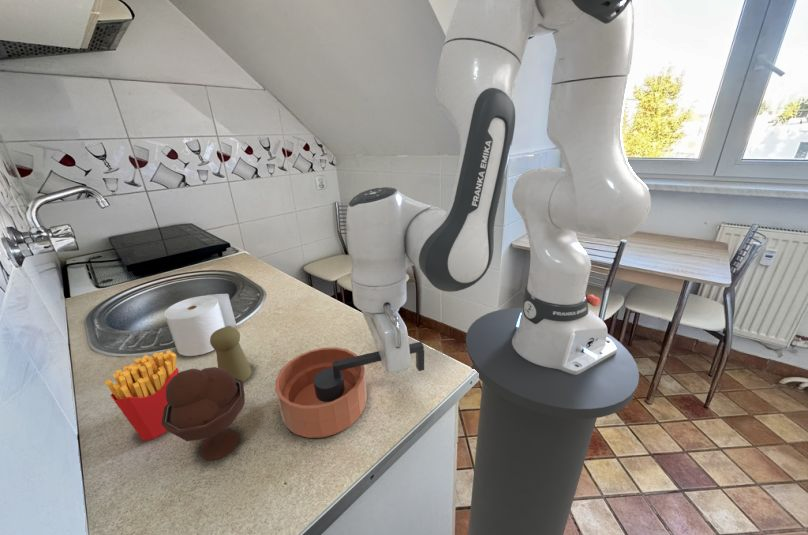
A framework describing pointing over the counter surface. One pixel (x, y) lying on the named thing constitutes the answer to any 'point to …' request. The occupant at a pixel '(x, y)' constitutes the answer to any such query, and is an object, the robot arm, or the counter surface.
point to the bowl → (300, 398)
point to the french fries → (144, 392)
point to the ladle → (331, 379)
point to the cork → (230, 352)
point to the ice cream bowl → (204, 409)
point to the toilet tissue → (198, 322)
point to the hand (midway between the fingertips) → (384, 359)
